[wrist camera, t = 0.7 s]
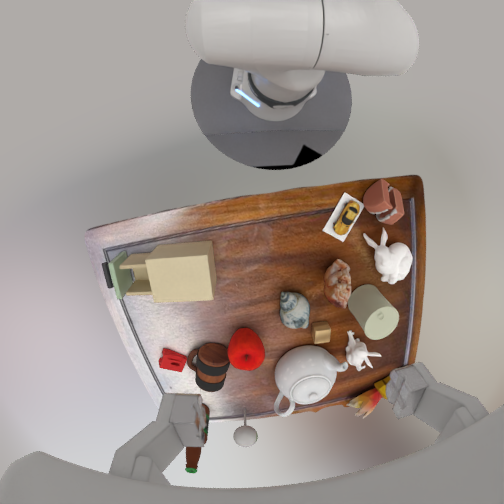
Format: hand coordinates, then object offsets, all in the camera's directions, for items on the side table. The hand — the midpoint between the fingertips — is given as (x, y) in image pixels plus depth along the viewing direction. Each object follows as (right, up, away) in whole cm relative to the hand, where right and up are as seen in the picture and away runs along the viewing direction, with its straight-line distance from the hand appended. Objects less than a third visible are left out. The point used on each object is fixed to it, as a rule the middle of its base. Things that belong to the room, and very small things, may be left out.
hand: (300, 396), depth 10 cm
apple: (-4, -15, +59) cm, 61 cm away
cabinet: (-17, +3, +52) cm, 55 cm away
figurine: (+16, +2, +55) cm, 57 cm away
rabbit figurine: (+28, -21, +63) cm, 72 cm away
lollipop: (-4, -45, +70) cm, 83 cm away
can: (+27, -7, +58) cm, 64 cm away
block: (+16, -14, +60) cm, 63 cm away
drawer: (-28, +2, +51) cm, 59 cm away
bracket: (-23, -24, +59) cm, 67 cm away
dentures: (+23, +18, +45) cm, 54 cm away
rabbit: (+32, 0, +51) cm, 60 cm away
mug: (-13, -18, +56) cm, 61 cm away
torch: (+51, -32, +66) cm, 89 cm away
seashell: (+8, -7, +57) cm, 58 cm away
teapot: (+12, -26, +64) cm, 71 cm away
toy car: (+19, +14, +50) cm, 55 cm away
